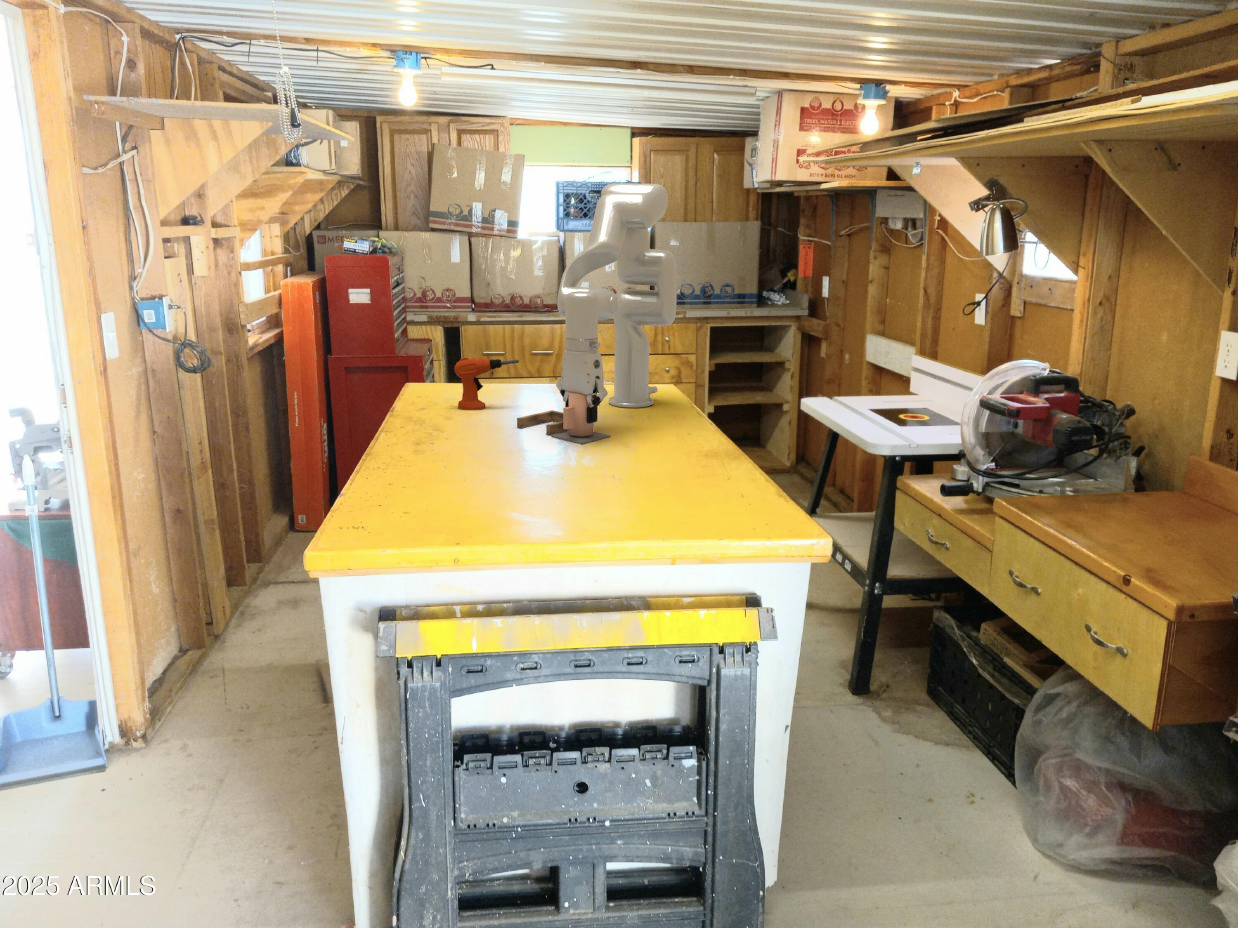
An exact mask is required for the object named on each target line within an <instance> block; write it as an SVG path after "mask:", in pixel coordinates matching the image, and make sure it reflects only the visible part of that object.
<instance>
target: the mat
mask: <svg viewBox="0 0 1238 928" xmlns="http://www.w3.org/2000/svg"><path fill="white" fill-rule="evenodd" d="M550 436H551V438H555V439H557V440H561V441H562V440H563V441H566V442H571V443H574V444H579V445H585V444H589V443H592V442H596V441H601V440H604V439H609V438H610V437H611V435H610V434H606V433H600V432H598V431H594V434H593V435H590V436H573V435H570V434H569V431H566V432H562V433H558V434H554V435H550Z"/></svg>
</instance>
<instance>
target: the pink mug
mask: <svg viewBox="0 0 1238 928" xmlns="http://www.w3.org/2000/svg"><path fill="white" fill-rule="evenodd" d="M592 400H593V396H592ZM587 407H589V405H588V401H587V398H586V395H583V394H578V393H573V392H569V407H565V406H564V407H563V409H562V411H563V429H569V434H570V435H573V436H590V435H593V434H594V432H595V431H594V429H595V427H594V425H595V422H594V423H590V424H588V423H587Z"/></svg>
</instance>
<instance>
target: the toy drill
mask: <svg viewBox="0 0 1238 928" xmlns="http://www.w3.org/2000/svg"><path fill="white" fill-rule="evenodd" d="M518 363H520V360H519V359H511V360H501V359H499V358H497V359H489V358H484V357H479V358H475V357H473V358H468V357H466V356H465V357H461V358H460V360H459V361H458V362H456V364H455V365H454V369H453V370H454V373H455V374H456V376H457V377H458V378H460V379H461V384H462V395H461V399H460V400H459V401H458V403H457V408H458V409H459V410H464V411H467V410H468V411H469V410H470V411H478V410H479V411H480V410H485V409H486V403H485V402H483V401H482V400H479V395H478V394H479V391H481V390H482V389H483V387H484V384H482V383H481V382H480V380H479V379H480V378H478V376H481V375H483V374H486V373H488V372H489V371H490V372H491V371H492V370H496V369H500V368H502V366H504V365H505V366H507V365H511V364H518Z"/></svg>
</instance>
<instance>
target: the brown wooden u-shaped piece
mask: <svg viewBox="0 0 1238 928" xmlns="http://www.w3.org/2000/svg"><path fill="white" fill-rule="evenodd" d="M550 422H552V423H550ZM546 423H547V424H546ZM542 424H546V425H545V426H546V427H545V428H546V430H545V431H546V432H545V434H546V436H551V435H555V434H559V433H563V432H567V431H569V429H563V412H562V411H557V410H553V409H552V410H548V411H542V412H538V413H533V414H529V415H525V416H520V417H516V428H517V429H519V430H520V429H524V428H529V427H533V426H537V425H542Z"/></svg>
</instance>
